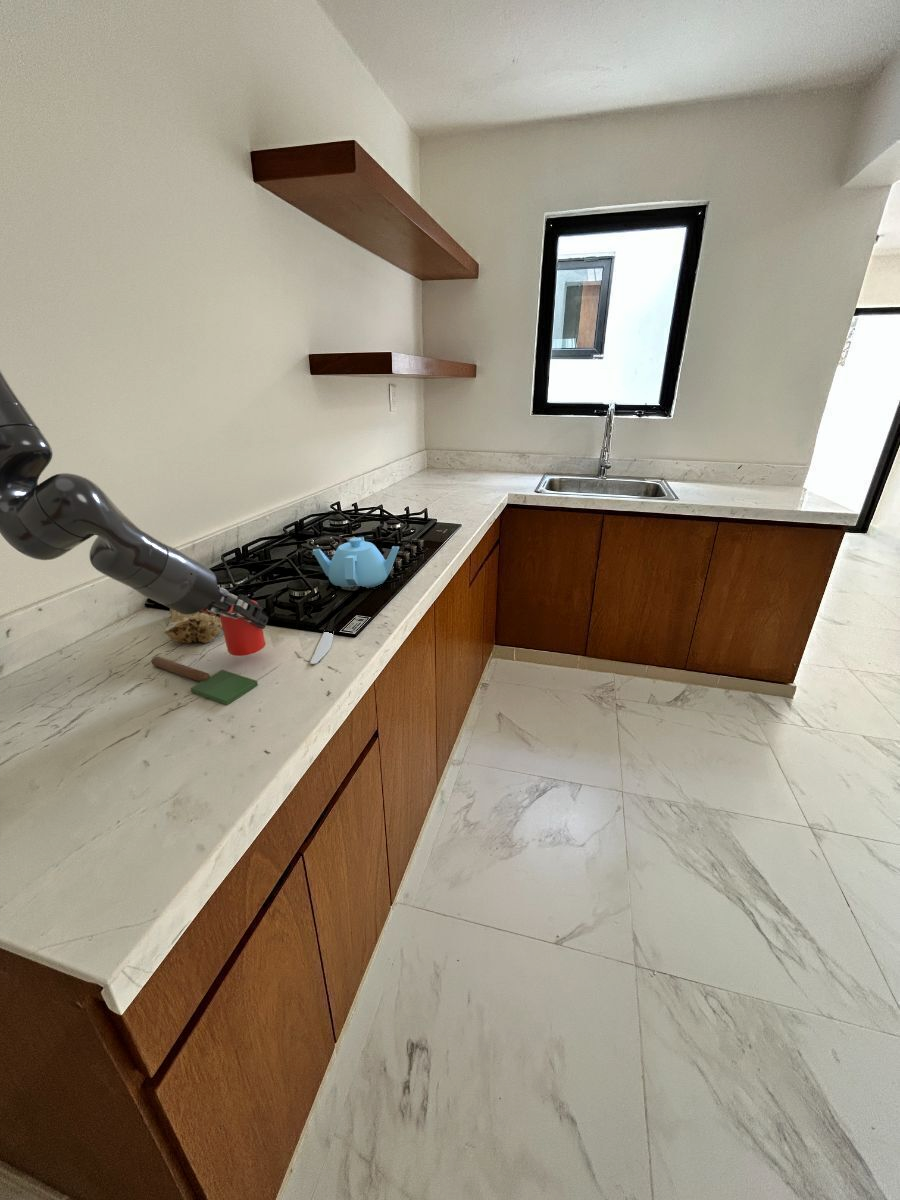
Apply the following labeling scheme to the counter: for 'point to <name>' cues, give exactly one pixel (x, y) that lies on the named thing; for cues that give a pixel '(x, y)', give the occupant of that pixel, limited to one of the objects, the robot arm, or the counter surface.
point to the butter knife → (322, 647)
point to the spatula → (211, 681)
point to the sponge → (193, 627)
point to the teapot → (356, 564)
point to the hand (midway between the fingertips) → (249, 620)
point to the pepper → (241, 636)
